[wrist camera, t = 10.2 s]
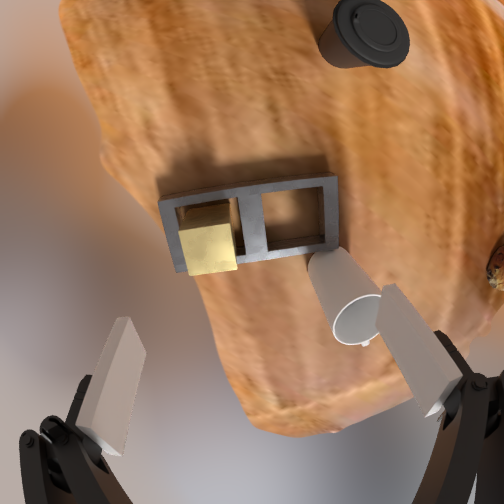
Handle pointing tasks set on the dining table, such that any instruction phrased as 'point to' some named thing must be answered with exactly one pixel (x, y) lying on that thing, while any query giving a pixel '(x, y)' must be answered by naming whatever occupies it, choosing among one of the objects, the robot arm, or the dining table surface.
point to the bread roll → (496, 270)
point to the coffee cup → (364, 35)
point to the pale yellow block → (208, 240)
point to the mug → (345, 295)
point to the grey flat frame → (258, 216)
